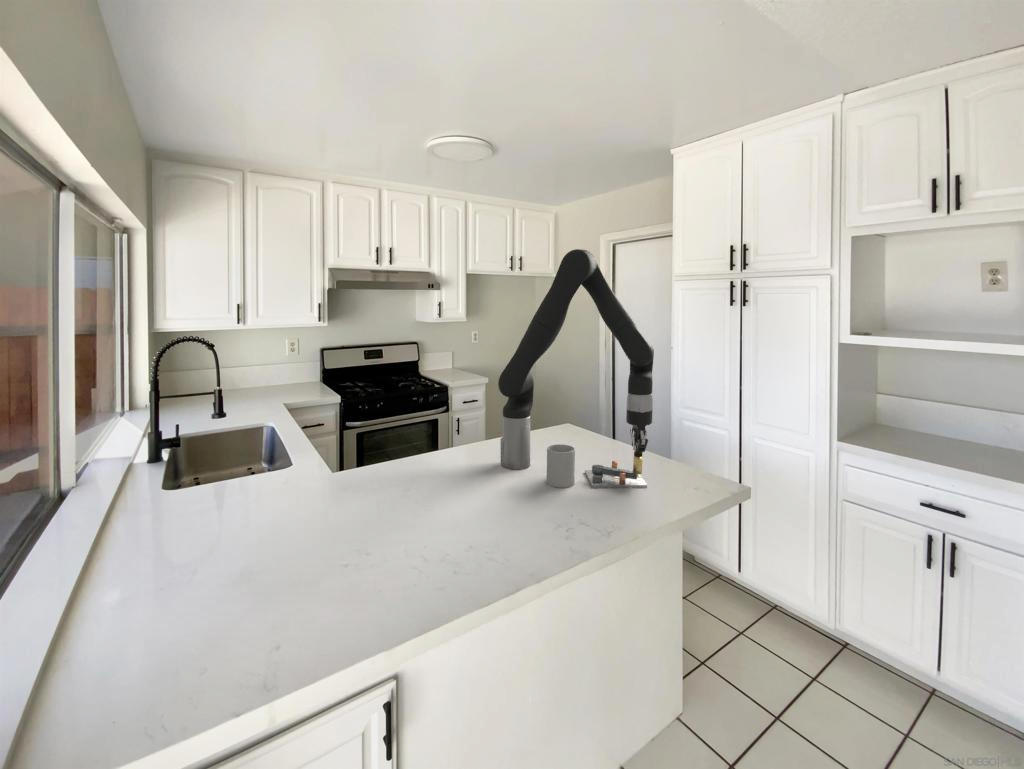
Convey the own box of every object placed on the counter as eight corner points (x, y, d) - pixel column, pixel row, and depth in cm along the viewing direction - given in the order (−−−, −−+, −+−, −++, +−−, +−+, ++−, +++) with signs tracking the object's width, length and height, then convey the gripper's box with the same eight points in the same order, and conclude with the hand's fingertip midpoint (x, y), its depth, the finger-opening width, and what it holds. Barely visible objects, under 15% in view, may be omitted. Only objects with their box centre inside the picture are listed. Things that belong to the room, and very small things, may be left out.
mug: (576, 488, 144) (577, 452, 142) (547, 488, 144) (548, 452, 142) (570, 473, 156) (571, 440, 154) (544, 474, 156) (544, 441, 154)
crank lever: (590, 473, 150) (590, 452, 149) (593, 469, 153) (594, 449, 152) (640, 481, 143) (641, 459, 142) (642, 477, 146) (643, 456, 145)
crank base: (591, 487, 144) (592, 474, 144) (584, 472, 157) (585, 460, 157) (647, 487, 145) (647, 474, 144) (635, 472, 158) (636, 460, 157)
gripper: (622, 403, 152) (621, 456, 155) (631, 413, 139) (630, 470, 142) (646, 402, 152) (644, 455, 155) (658, 412, 139) (656, 470, 142)
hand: (637, 462), depth 148 cm, fingers closed
